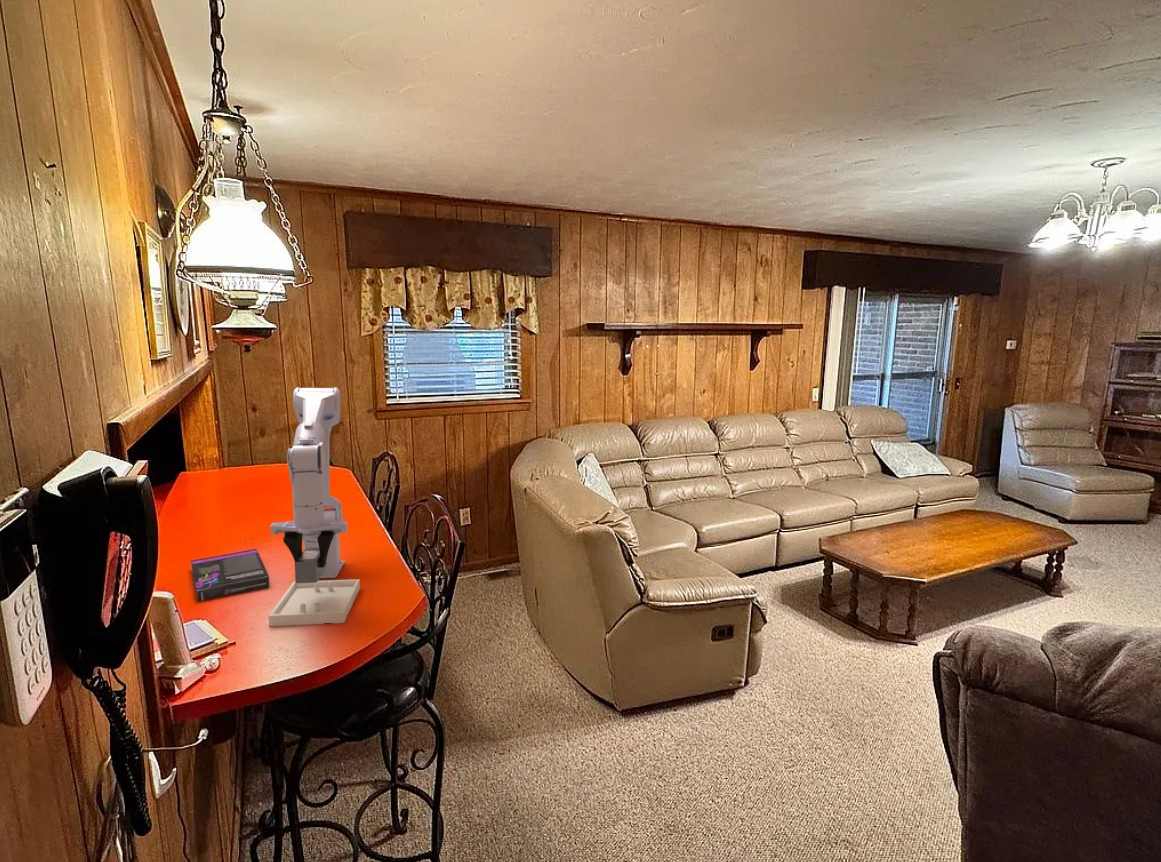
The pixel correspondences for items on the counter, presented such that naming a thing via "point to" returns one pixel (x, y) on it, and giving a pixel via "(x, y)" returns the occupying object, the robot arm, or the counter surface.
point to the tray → (315, 603)
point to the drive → (309, 566)
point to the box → (229, 574)
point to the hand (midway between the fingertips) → (311, 566)
